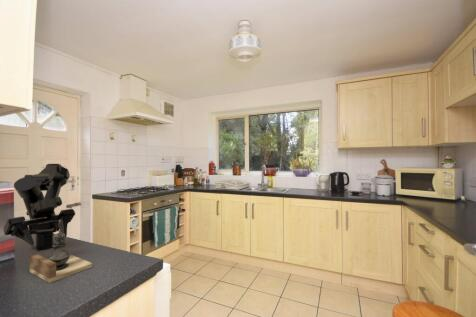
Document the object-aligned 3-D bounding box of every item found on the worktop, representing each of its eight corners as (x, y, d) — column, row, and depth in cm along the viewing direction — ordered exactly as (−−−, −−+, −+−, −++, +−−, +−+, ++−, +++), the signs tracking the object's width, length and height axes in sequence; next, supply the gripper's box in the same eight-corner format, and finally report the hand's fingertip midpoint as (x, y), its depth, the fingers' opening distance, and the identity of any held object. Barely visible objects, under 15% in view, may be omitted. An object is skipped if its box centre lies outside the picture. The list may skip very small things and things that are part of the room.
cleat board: (29, 271, 73) (29, 255, 73) (71, 258, 84) (71, 244, 84) (49, 283, 66) (49, 265, 67) (92, 266, 77) (92, 251, 77)
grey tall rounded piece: (44, 273, 70) (44, 233, 70) (51, 265, 75) (52, 228, 76) (67, 269, 72) (67, 231, 72) (72, 262, 78) (73, 227, 78)
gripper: (7, 193, 72) (21, 234, 67) (73, 187, 88) (88, 220, 83) (-2, 215, 76) (10, 255, 70) (62, 206, 92) (76, 238, 87)
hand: (50, 240), depth 77 cm, fingers open, 9 cm apart
